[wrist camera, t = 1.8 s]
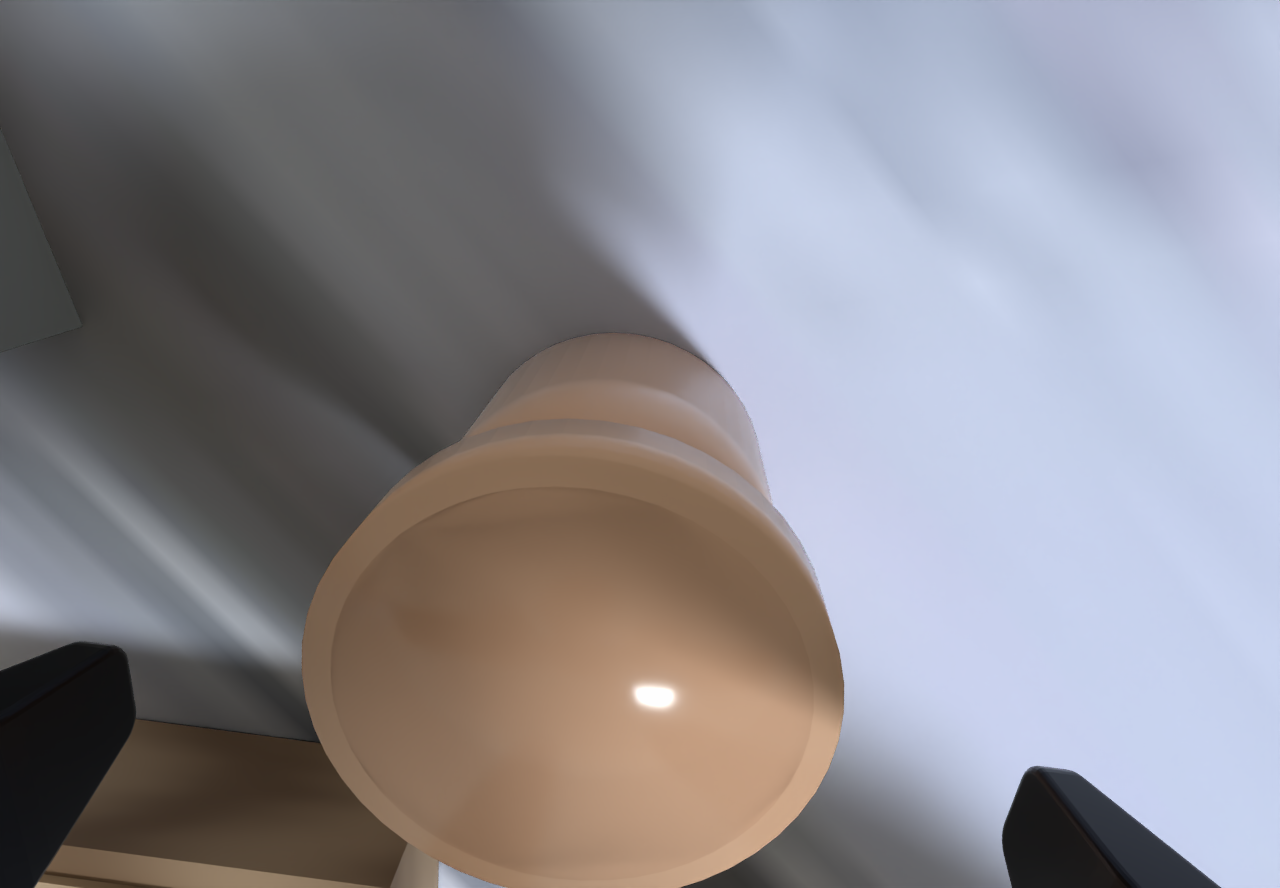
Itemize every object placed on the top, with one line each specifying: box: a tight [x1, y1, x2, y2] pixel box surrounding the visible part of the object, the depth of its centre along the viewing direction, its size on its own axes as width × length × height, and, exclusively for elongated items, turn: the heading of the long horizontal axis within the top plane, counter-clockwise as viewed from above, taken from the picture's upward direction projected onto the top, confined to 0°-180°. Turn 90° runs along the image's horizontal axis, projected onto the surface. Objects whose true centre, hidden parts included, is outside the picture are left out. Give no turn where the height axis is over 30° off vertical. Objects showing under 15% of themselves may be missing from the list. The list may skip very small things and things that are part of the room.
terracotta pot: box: [302, 333, 844, 888], centre depth 11 cm, size 6×6×6 cm
